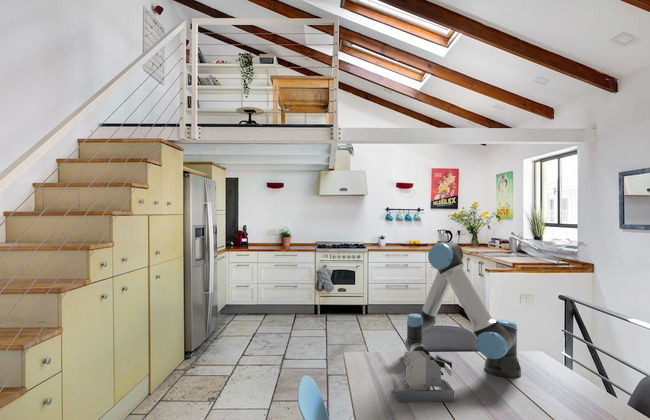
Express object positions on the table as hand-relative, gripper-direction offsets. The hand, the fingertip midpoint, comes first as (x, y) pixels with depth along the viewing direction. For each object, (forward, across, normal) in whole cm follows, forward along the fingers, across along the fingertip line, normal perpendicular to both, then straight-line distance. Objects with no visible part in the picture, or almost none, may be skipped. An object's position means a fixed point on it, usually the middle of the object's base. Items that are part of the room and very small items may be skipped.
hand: (434, 372), depth 154 cm
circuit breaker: (+4, +6, -6) cm, 9 cm away
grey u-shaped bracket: (+7, +7, -6) cm, 12 cm away
